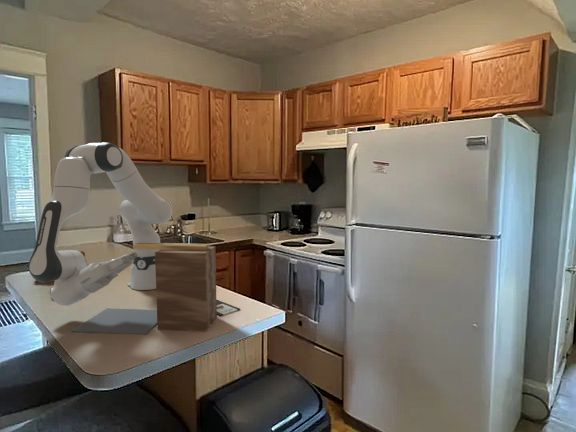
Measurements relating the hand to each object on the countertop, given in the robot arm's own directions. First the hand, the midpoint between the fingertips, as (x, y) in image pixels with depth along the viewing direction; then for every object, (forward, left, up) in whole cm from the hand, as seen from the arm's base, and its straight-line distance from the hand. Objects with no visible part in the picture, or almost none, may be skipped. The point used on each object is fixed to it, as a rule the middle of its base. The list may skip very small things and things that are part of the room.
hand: (130, 256), depth 125 cm
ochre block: (0, +14, +3) cm, 14 cm away
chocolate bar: (-16, +24, -23) cm, 37 cm away
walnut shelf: (0, +19, -22) cm, 29 cm away
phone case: (-26, -43, -23) cm, 55 cm away
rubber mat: (0, -3, -22) cm, 22 cm away
